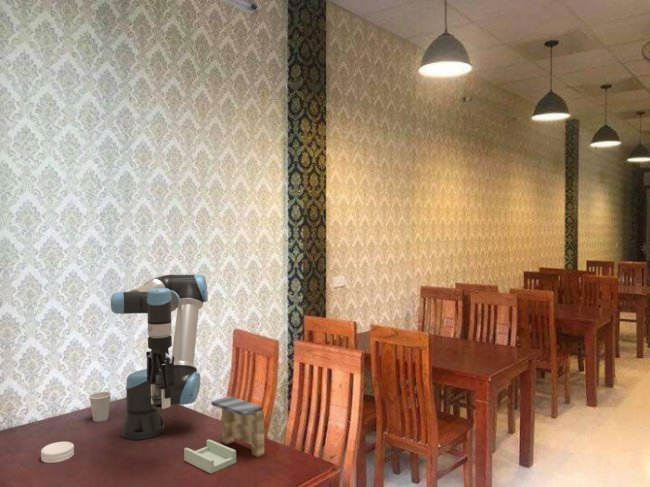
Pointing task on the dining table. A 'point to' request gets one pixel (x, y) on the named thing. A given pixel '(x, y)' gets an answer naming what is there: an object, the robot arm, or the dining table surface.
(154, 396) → the dark grey tall piece
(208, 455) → the pale green tray
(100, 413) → the dixie cup
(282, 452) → the dining table surface
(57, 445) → the coaster
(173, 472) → the dining table surface
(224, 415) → the checkered stool block
